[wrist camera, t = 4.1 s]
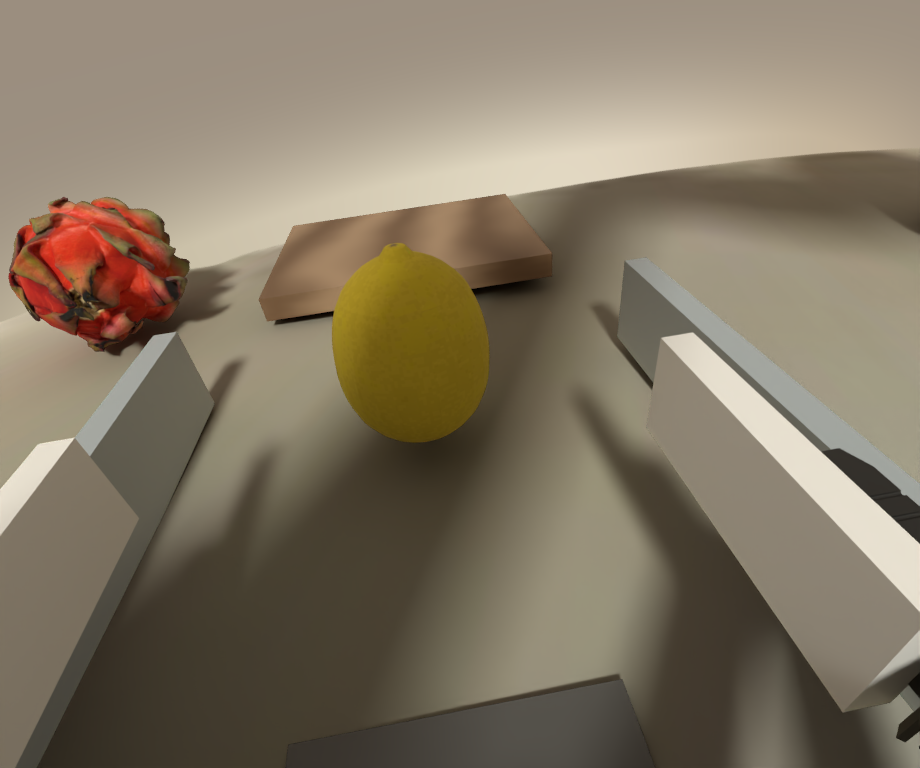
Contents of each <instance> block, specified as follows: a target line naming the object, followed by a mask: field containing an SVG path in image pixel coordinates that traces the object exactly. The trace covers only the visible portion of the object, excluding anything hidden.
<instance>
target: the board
mask: <svg viewBox="0 0 920 768" xmlns="http://www.w3.org/2000/svg"><path fill="white" fill-rule="evenodd" d="M393 243H403V244H405V245H406V246H407V247H408V248H410V249H411V250H412V251H416V252H421V253H425V254H428V255H431V256H434V257H436V258H438V259H440V260H442V261H443V262H445V263H446V264H448V265H449V266H451V267H452V268H454V269H455V270H456V271H457V272H458V273H459V274H460V275H462V277H463V278H464V279H465V280H466V282H467V283H468V285H469V286H470V288H471V289H474V288H480V287H487V286H493V285H499V284H505V283H512V282H518V281H524V280H531V279H537V278H543V277H549V276H552V253H551V251H550V250H549V249H548V248H547V246H546V245H545V244H544V242H543V241H542V240H541V239H540V237H539V236H538V235H537V234H536V232H535V231H534V230H533V229H532V227H531V226H530V225H529V224H528V222H527V221H526V220H525V218H524V217H523V216H522V215H521V213H520V212H519V211H518V210H517V208H516V207H515V206H514V205H513V203H512V202H511V201H510V200H509V198H508V197H507V196H506V195H505V194H502V195H495V196H488V197H482V198H475V199H469V200H462V201H455V202H449V203H442V204H435V205H429V206H422V207H416V208H409V209H403V210H396V211H389V212H382V213H376V214H369V215H363V216H357V217H350V218H343V219H336V220H330V221H323V222H316V223H310V224H303V225H296V226H293V228H292V230H291V232H290V234H289V236H288V238H287V240H286V243H285V245H284V247H283V249H282V251H281V253H280V255H279V257H278V259H277V262H276V264H275V266H274V268H273V270H272V272H271V274H270V276H269V279H268V281H267V283H266V285H265V287H264V289H263V291H262V293H261V296H260V298H259V302H260V304H261V307H262V309H263V312H264V314H265V317H266V319H267V321H273V320H279V319H285V318H292V317H298V316H304V315H310V314H317V313H323V312H329V311H334V310H335V306H336V304H337V301H338V298H339V295H340V292H341V291H342V289H343V287H344V285H345V284H346V283H347V281H348V280H349V279H350V278H351V276H352V275H353V274H354V273H355V272H356V271H357V270H358V269H359V268H360V267H361V266H362V265H364V264H365V263H367V262H369V261H370V260H372V259H374V258H375V257H378V256H379V255H380V253H381V252H382V250H383V248H384V247H385V246H386V245H389V244H393Z"/></svg>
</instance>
